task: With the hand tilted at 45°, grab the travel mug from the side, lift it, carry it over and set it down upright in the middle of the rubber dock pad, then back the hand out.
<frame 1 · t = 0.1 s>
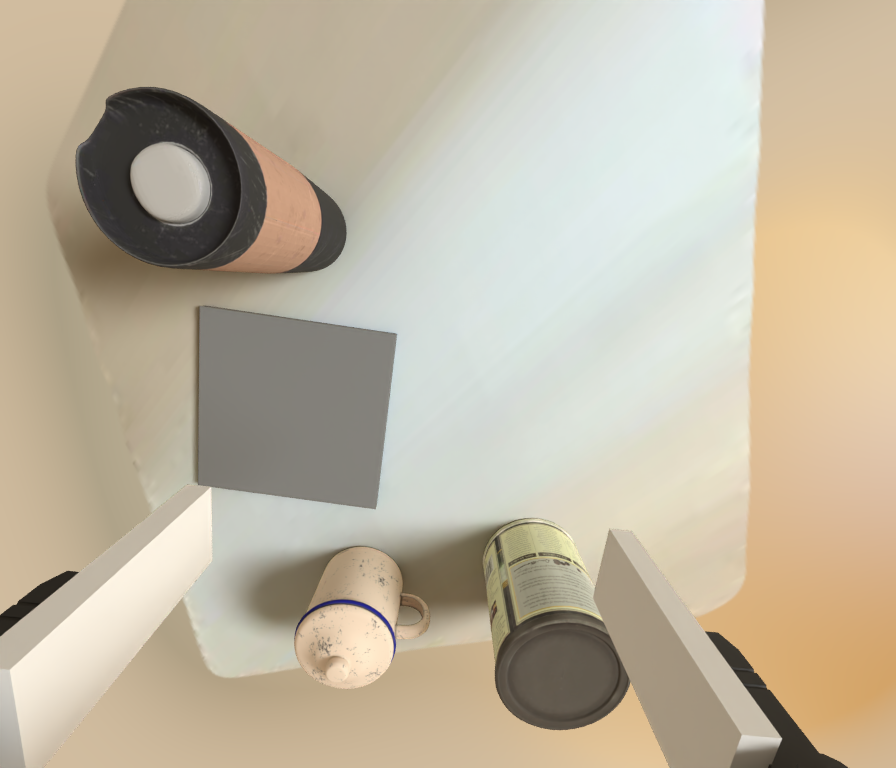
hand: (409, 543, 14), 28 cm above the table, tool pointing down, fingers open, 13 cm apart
dock pad: (295, 410, 42), on the table
teacup with lid: (377, 578, 47), on the table
coffee can: (530, 558, 46), on the table
travel mug: (307, 230, 39), on the table
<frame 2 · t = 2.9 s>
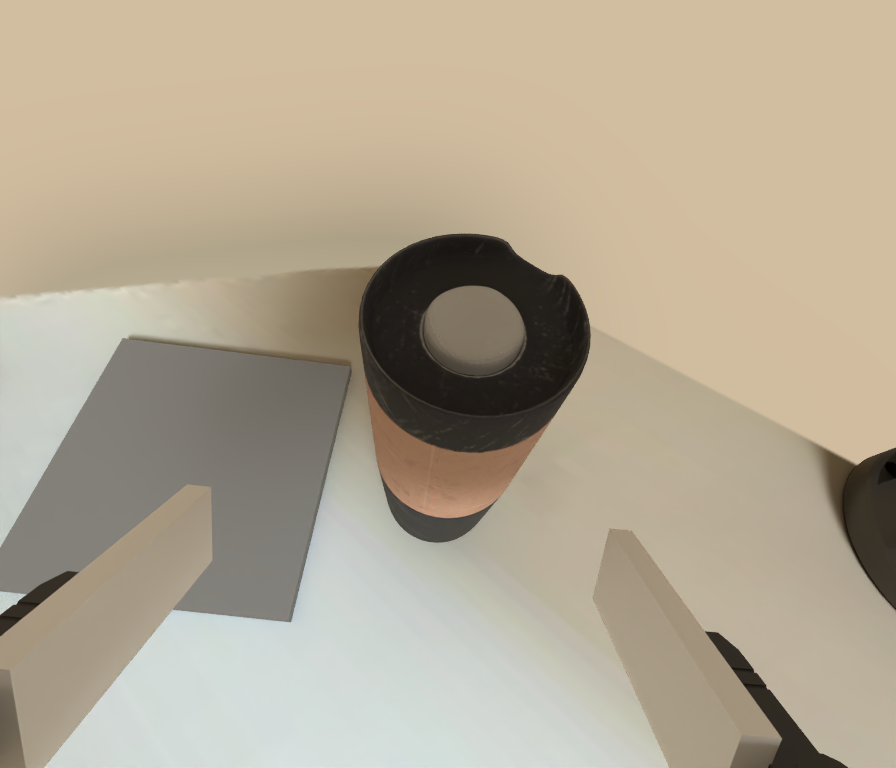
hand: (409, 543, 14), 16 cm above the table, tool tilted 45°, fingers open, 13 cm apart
dock pad: (198, 463, 30), on the table
travel mug: (437, 492, 31), on the table
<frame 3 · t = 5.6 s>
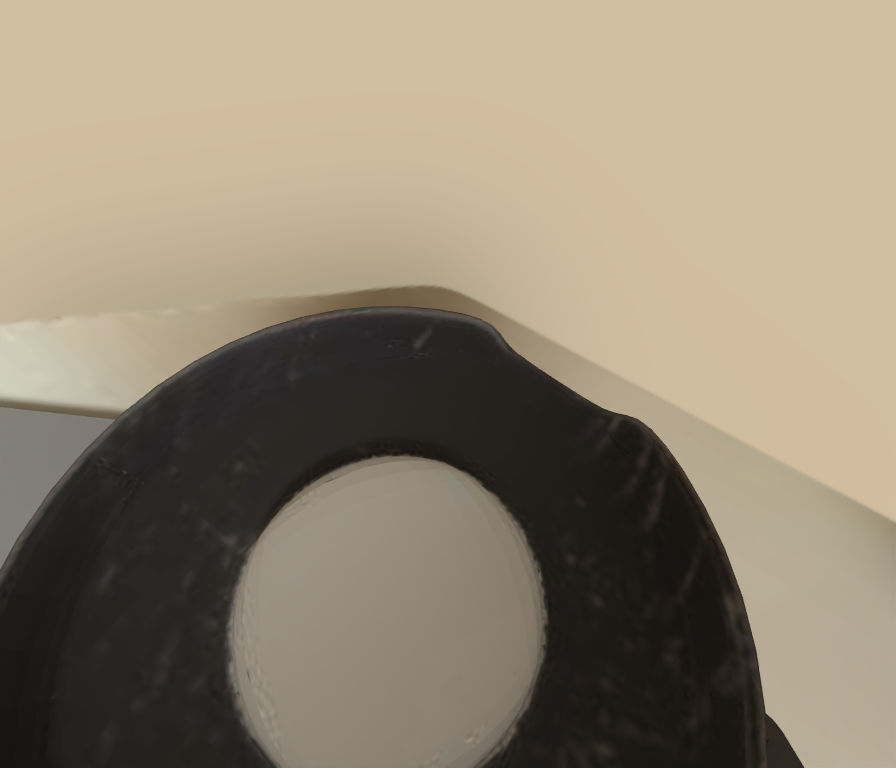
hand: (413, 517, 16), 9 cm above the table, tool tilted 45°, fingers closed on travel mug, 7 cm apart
dock pad: (48, 595, 21), on the table
travel mug: (401, 629, 22), on the table, touching gripper
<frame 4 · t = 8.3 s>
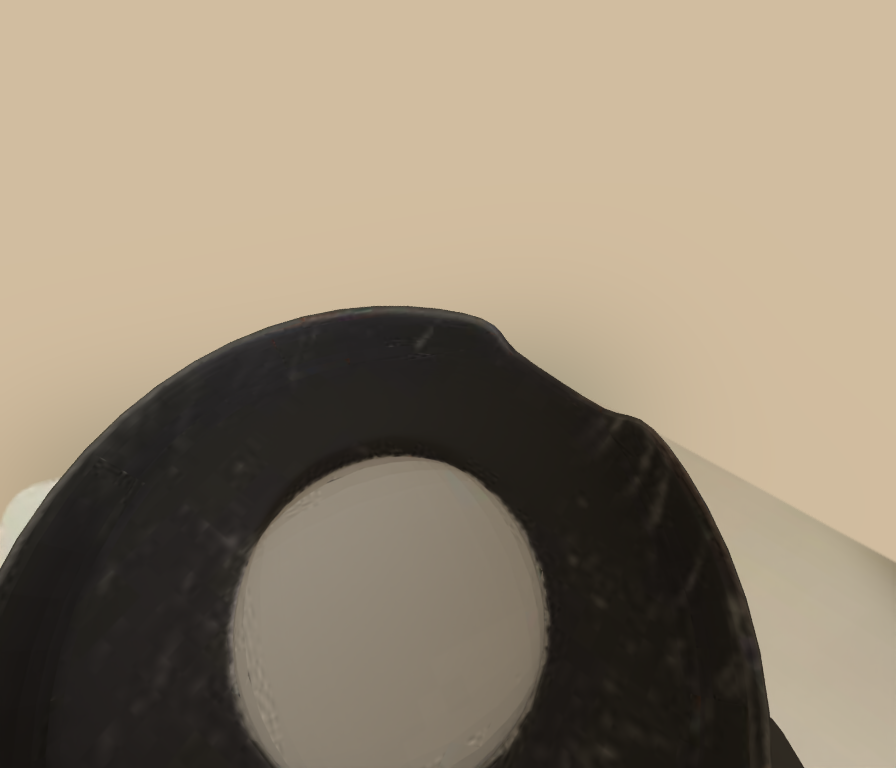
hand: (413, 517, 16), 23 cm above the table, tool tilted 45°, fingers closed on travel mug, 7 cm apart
travel mug: (401, 629, 21), point 14 cm above the table, touching gripper
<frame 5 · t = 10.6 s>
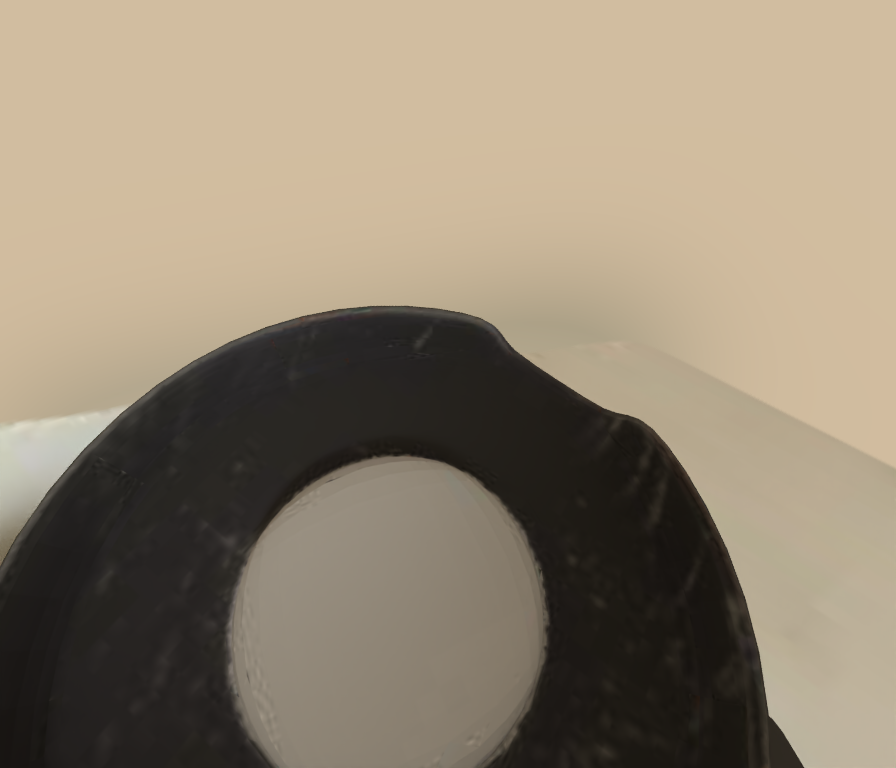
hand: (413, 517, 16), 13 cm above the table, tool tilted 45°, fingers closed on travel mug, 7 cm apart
travel mug: (400, 629, 21), point 4 cm above the table, touching gripper
when the fingers open (11 cm above the table, at t = 11.5 s): travel mug drops 2 cm, resting on dock pad.
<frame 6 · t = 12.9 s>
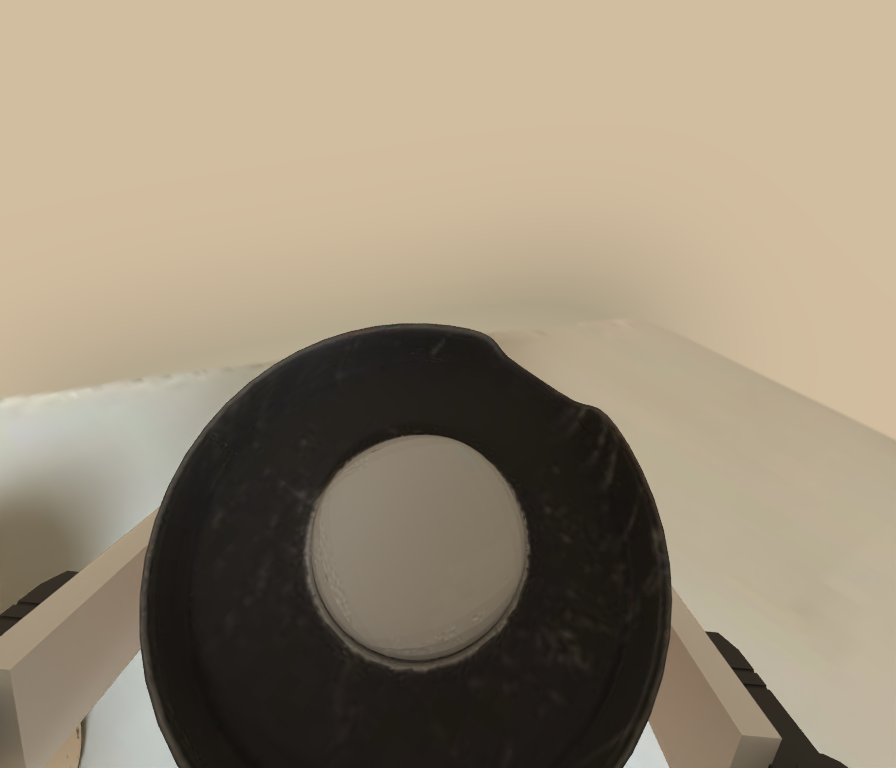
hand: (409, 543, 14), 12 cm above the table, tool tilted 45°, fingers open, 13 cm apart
travel mug: (406, 606, 24), point 1 cm above the table, touching dock pad
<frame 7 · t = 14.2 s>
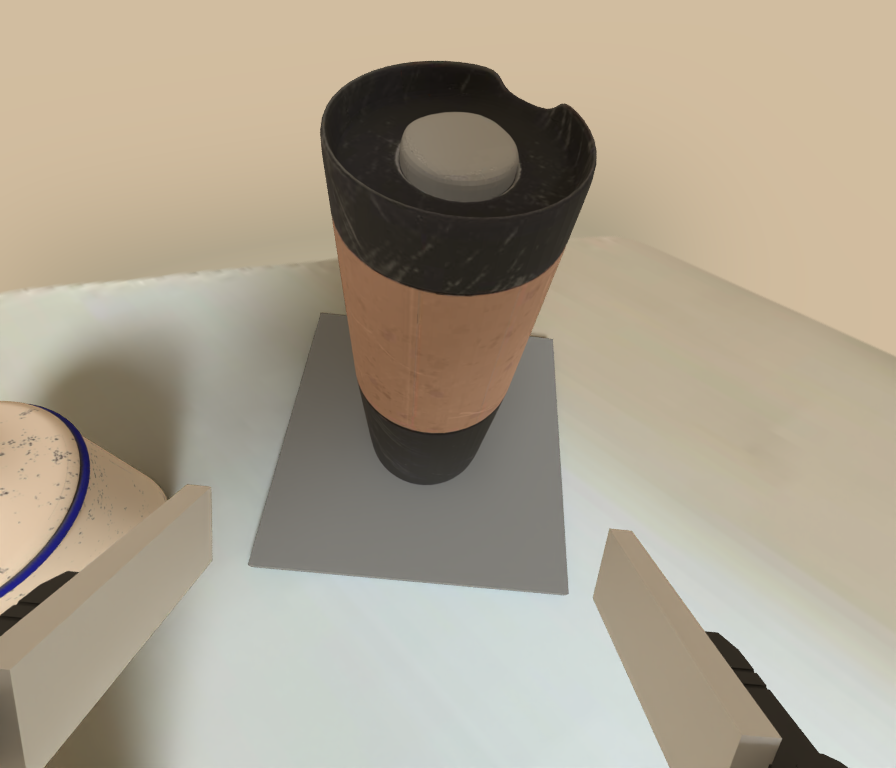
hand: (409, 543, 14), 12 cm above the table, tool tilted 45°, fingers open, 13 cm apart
dock pad: (425, 437, 29), on the table
teacup with lid: (83, 571, 24), on the table
travel mug: (425, 435, 29), point 1 cm above the table, touching dock pad
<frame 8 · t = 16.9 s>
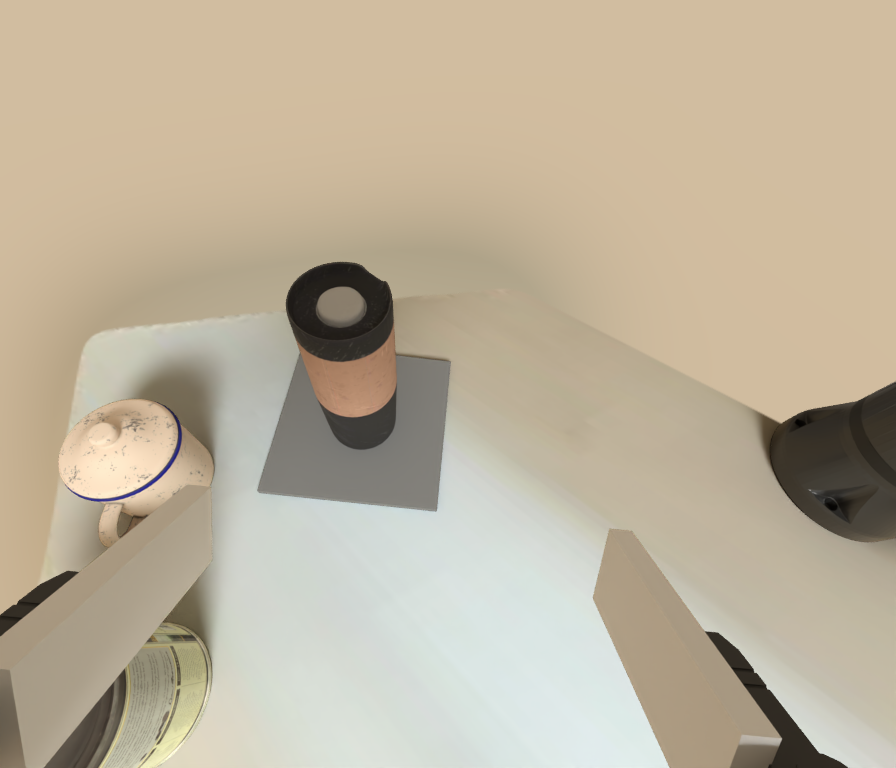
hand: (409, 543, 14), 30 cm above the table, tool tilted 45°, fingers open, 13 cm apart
dock pad: (364, 422, 49), on the table
teacup with lid: (166, 493, 43), on the table
coffee can: (146, 694, 35), on the table
travel mug: (363, 421, 48), point 1 cm above the table, touching dock pad
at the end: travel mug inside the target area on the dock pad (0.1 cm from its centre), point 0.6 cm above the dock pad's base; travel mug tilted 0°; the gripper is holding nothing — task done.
